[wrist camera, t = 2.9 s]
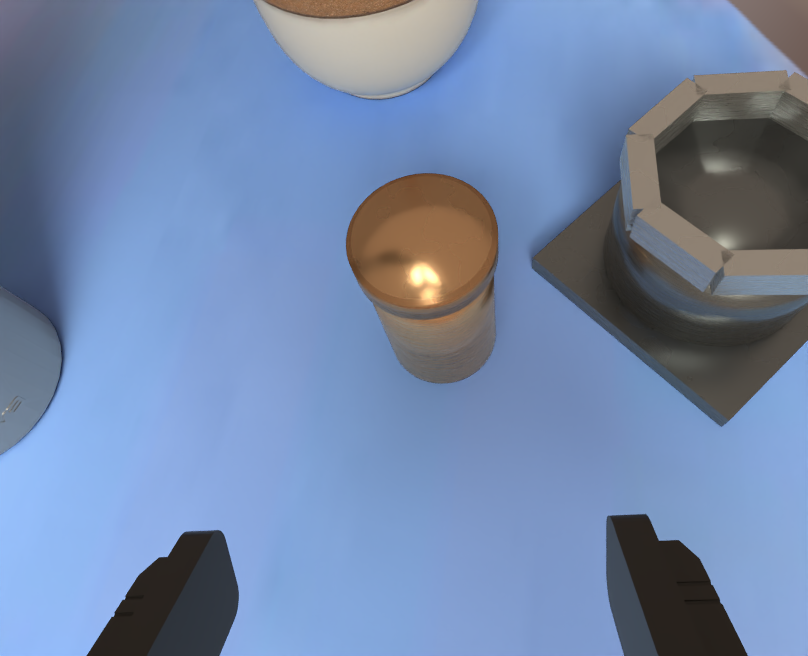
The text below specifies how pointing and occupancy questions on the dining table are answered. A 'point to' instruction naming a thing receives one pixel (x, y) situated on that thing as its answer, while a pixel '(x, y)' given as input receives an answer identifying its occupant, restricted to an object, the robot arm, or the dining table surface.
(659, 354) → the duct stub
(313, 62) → the lidded bowl
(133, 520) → the dining table surface
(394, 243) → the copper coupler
